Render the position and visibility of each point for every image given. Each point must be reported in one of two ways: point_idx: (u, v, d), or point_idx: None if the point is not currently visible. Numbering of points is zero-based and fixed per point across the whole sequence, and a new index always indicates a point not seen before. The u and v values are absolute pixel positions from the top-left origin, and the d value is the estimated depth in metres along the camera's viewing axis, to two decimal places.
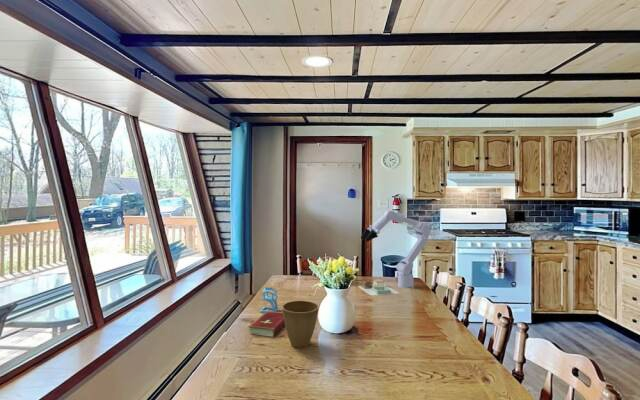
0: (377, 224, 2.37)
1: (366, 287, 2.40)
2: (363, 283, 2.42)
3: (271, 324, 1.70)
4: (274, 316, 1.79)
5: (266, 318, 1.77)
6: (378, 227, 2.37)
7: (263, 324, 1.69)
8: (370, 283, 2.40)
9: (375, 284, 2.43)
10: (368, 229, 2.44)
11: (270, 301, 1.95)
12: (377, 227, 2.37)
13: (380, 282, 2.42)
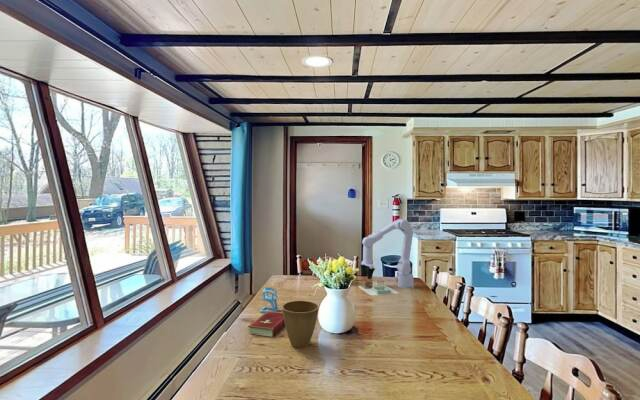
0: (366, 258, 2.39)
1: (366, 287, 2.40)
2: (363, 283, 2.42)
3: (270, 324, 1.70)
4: (274, 316, 1.79)
5: (266, 318, 1.77)
6: (368, 260, 2.39)
7: (262, 324, 1.70)
8: (370, 283, 2.40)
9: (375, 284, 2.43)
10: None
11: (270, 301, 1.95)
12: (368, 261, 2.39)
13: (380, 282, 2.42)
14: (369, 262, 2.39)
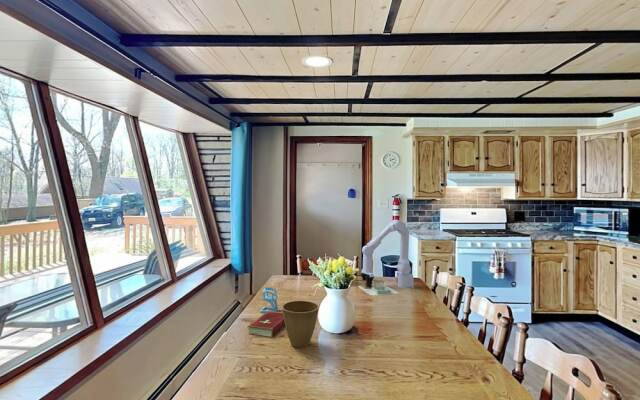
0: (366, 267, 2.39)
1: (366, 287, 2.40)
2: (363, 283, 2.42)
3: (270, 324, 1.70)
4: (273, 316, 1.79)
5: (266, 318, 1.77)
6: (368, 268, 2.39)
7: (262, 324, 1.70)
8: None
9: (375, 284, 2.43)
10: None
11: (270, 301, 1.95)
12: (368, 269, 2.39)
13: (380, 282, 2.42)
14: (369, 270, 2.39)
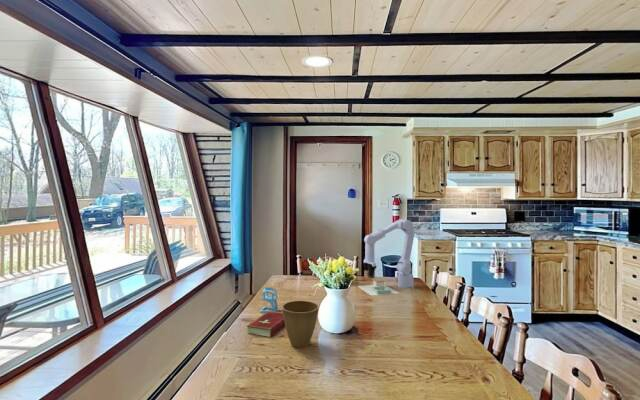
0: (368, 256, 2.37)
1: (368, 277, 2.38)
2: (365, 273, 2.40)
3: (269, 324, 1.70)
4: (273, 316, 1.79)
5: (265, 318, 1.77)
6: (371, 258, 2.37)
7: (261, 324, 1.70)
8: None
9: (375, 284, 2.43)
10: None
11: (270, 301, 1.95)
12: (370, 259, 2.37)
13: (380, 282, 2.42)
14: (371, 260, 2.37)
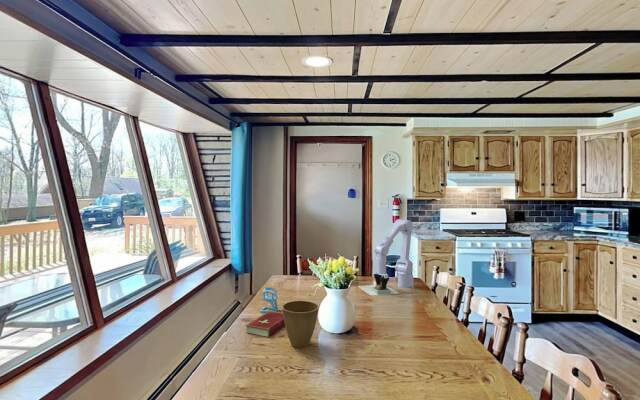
0: (380, 268, 2.29)
1: None
2: (377, 288, 2.31)
3: (268, 324, 1.70)
4: (273, 317, 1.79)
5: (265, 318, 1.77)
6: (382, 269, 2.29)
7: (260, 324, 1.70)
8: None
9: (375, 284, 2.43)
10: None
11: (270, 301, 1.95)
12: (382, 270, 2.29)
13: None
14: (383, 271, 2.29)
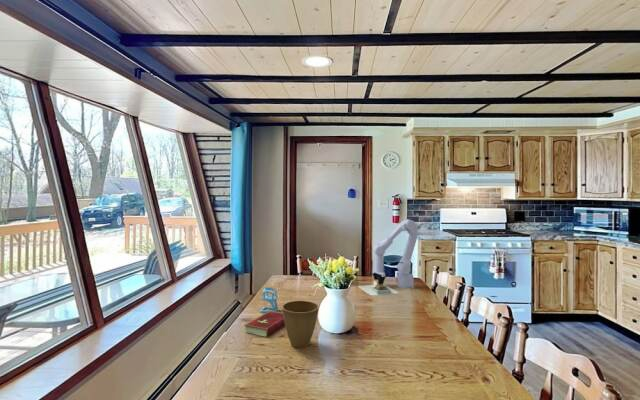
0: (377, 267, 2.42)
1: None
2: (377, 288, 2.31)
3: (266, 324, 1.70)
4: (273, 317, 1.79)
5: (265, 318, 1.78)
6: (380, 268, 2.41)
7: (259, 323, 1.70)
8: (384, 288, 2.30)
9: (375, 284, 2.43)
10: None
11: (270, 301, 1.95)
12: (379, 269, 2.41)
13: None
14: (381, 270, 2.42)
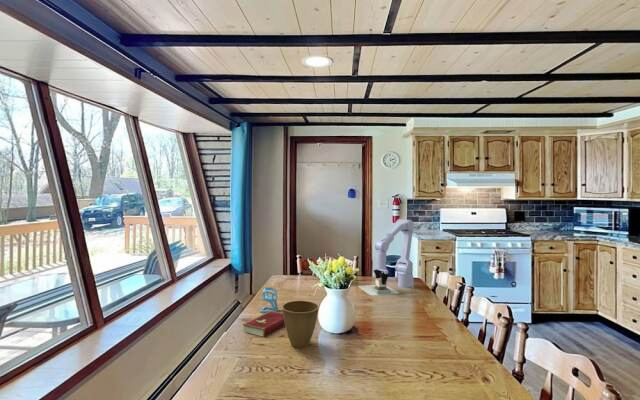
0: (380, 263, 2.29)
1: None
2: (377, 288, 2.31)
3: (264, 324, 1.70)
4: (273, 317, 1.79)
5: (264, 317, 1.78)
6: (383, 265, 2.29)
7: (257, 323, 1.70)
8: (384, 288, 2.30)
9: (377, 283, 2.31)
10: None
11: (270, 301, 1.95)
12: (382, 266, 2.29)
13: None
14: (383, 267, 2.29)
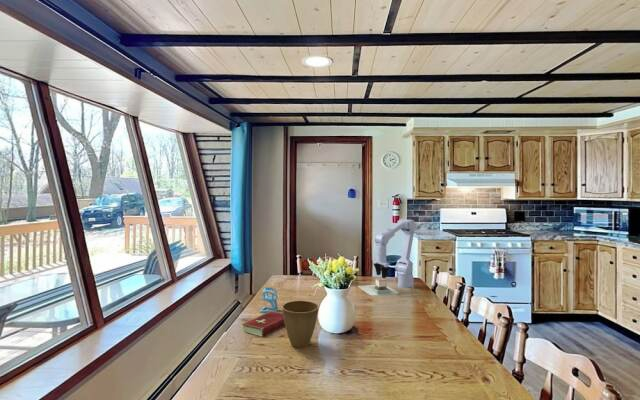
0: (380, 257, 2.29)
1: None
2: (377, 288, 2.31)
3: (264, 324, 1.70)
4: (272, 317, 1.79)
5: (264, 317, 1.78)
6: (383, 258, 2.28)
7: (256, 323, 1.71)
8: (384, 288, 2.30)
9: (377, 283, 2.31)
10: (376, 262, 2.36)
11: (270, 301, 1.95)
12: (382, 259, 2.28)
13: (382, 281, 2.29)
14: (383, 260, 2.29)
